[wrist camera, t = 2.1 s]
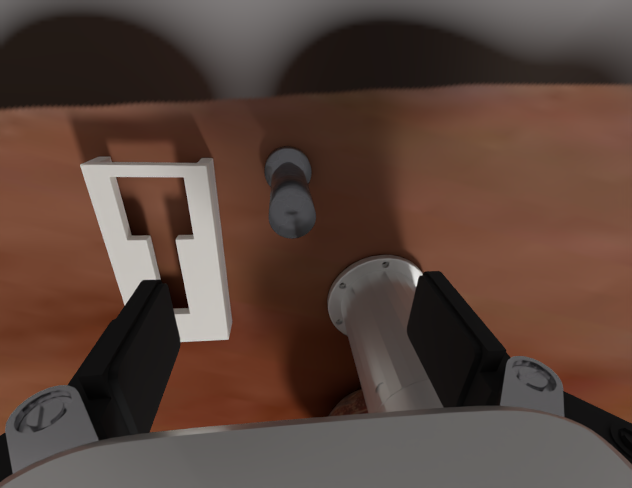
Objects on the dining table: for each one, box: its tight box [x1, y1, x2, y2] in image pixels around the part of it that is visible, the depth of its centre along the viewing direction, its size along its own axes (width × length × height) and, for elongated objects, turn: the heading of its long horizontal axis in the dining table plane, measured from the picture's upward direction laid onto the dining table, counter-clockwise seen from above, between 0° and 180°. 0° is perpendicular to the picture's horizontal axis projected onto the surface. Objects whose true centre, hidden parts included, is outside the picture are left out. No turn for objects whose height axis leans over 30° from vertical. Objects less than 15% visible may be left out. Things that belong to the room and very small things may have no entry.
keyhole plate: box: [80, 157, 232, 342], centre depth 32 cm, size 20×10×3 cm, turn 178°
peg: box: [265, 146, 316, 238], centre depth 25 cm, size 4×4×12 cm
